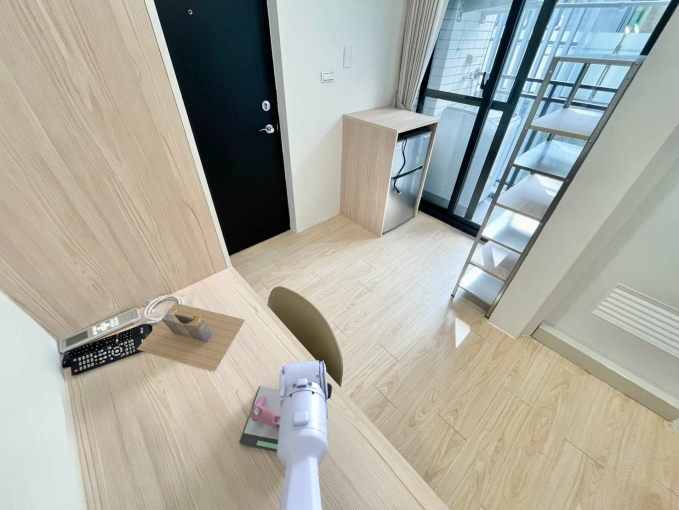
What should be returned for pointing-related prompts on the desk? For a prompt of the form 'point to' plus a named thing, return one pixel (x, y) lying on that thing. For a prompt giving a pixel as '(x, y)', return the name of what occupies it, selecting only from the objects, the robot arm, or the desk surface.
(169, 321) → the ruin model on sheet
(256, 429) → the scale
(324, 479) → the desk surface
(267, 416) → the video game controller
